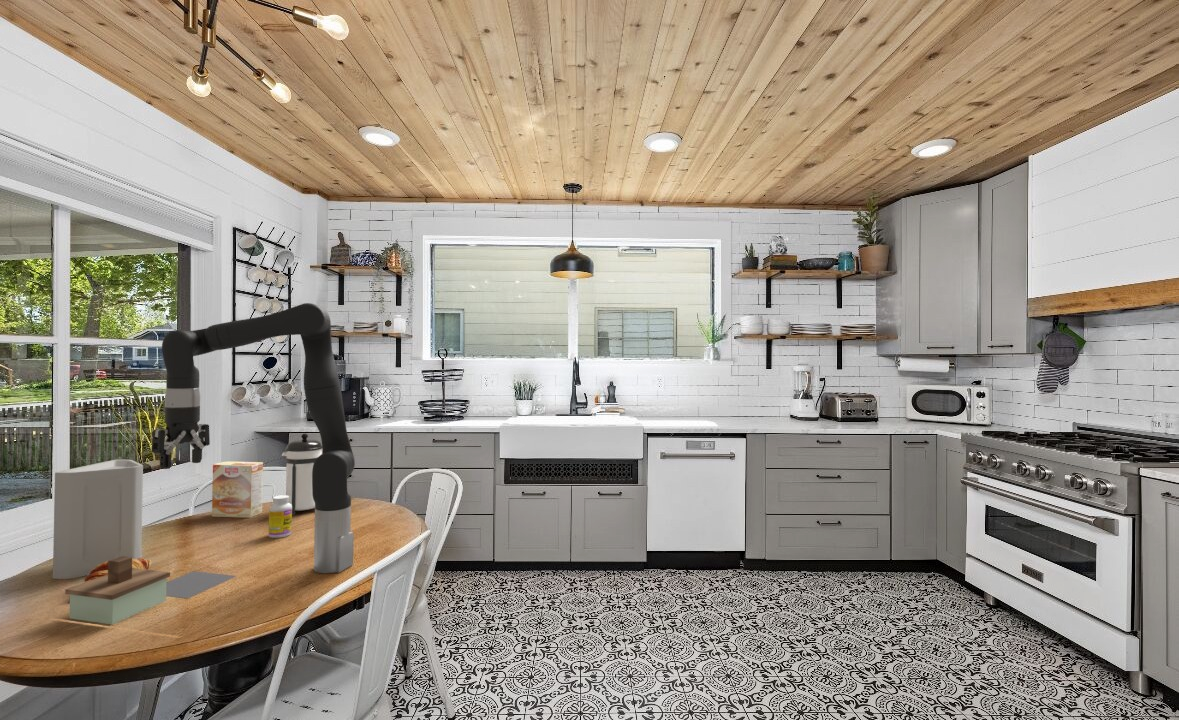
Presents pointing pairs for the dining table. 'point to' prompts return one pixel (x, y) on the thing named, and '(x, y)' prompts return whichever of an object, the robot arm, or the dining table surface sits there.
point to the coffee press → (301, 472)
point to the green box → (117, 604)
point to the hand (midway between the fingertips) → (181, 465)
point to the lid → (118, 580)
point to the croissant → (103, 568)
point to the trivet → (194, 583)
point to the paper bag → (96, 516)
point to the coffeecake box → (237, 489)
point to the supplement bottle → (280, 517)
